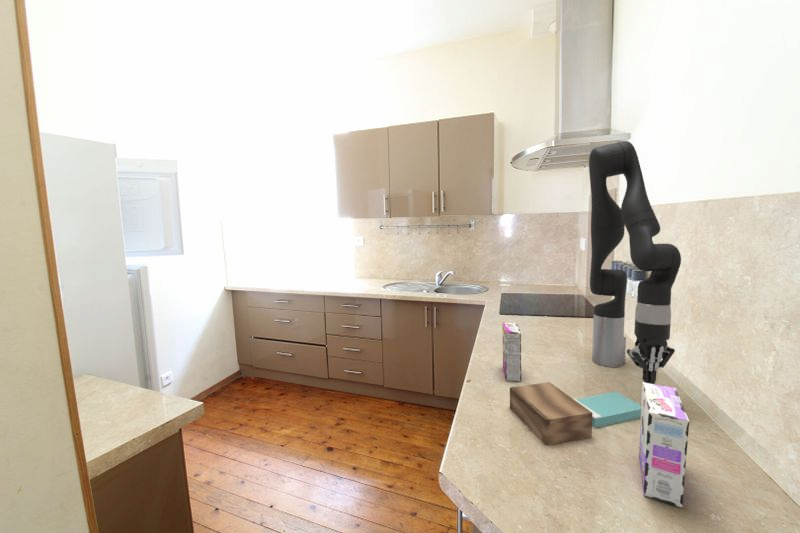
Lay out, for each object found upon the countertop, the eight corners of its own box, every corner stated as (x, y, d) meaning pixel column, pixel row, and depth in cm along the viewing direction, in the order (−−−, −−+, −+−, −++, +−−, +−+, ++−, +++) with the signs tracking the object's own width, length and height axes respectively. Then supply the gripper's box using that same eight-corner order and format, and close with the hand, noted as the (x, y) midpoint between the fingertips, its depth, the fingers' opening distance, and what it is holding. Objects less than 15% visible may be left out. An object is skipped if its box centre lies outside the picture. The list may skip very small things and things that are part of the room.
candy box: (684, 510, 58) (690, 421, 56) (642, 496, 62) (647, 411, 60) (672, 461, 70) (677, 386, 68) (637, 452, 73) (641, 380, 71)
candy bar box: (501, 367, 119) (501, 321, 117) (516, 367, 118) (517, 322, 116) (505, 381, 108) (505, 331, 106) (521, 382, 107) (521, 332, 105)
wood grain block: (549, 402, 95) (549, 382, 94) (591, 436, 79) (592, 412, 78) (509, 408, 92) (509, 387, 92) (545, 444, 77) (545, 420, 76)
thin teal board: (615, 401, 95) (615, 390, 95) (645, 418, 86) (646, 406, 86) (567, 410, 91) (567, 399, 91) (594, 429, 82) (594, 417, 82)
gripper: (660, 314, 93) (657, 374, 95) (618, 317, 91) (616, 379, 93) (688, 321, 86) (683, 386, 88) (643, 325, 84) (639, 391, 86)
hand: (648, 382), depth 90 cm, fingers closed
